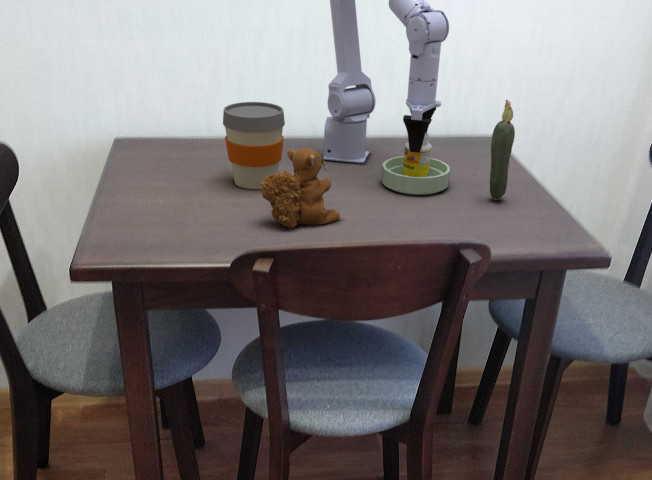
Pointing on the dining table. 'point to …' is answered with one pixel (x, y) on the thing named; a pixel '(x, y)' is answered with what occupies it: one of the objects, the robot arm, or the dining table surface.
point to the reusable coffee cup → (253, 141)
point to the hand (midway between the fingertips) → (417, 146)
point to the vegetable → (501, 153)
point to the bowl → (415, 185)
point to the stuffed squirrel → (299, 191)
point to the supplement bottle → (418, 160)
